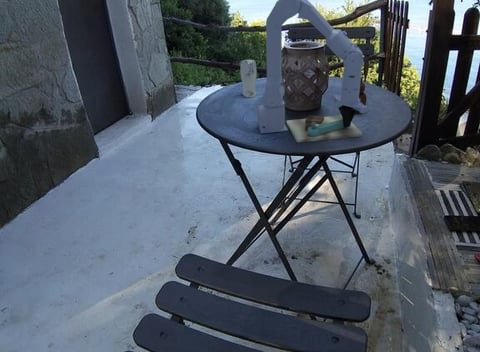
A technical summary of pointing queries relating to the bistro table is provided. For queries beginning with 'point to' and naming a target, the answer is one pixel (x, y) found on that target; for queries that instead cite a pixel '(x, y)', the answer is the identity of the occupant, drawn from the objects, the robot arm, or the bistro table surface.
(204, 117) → the bistro table surface
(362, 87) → the wooden figurine
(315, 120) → the walnut keeper
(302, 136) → the birch plate
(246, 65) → the beer glass
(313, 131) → the teal link
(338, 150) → the bistro table surface
